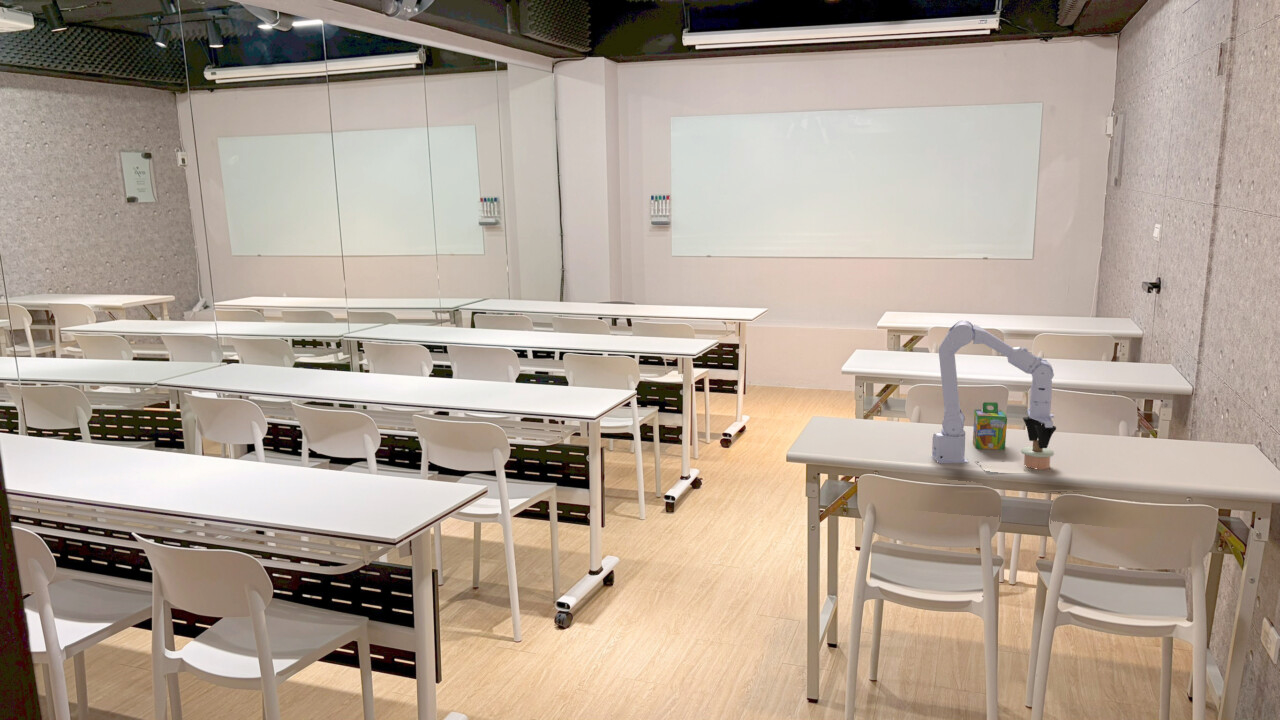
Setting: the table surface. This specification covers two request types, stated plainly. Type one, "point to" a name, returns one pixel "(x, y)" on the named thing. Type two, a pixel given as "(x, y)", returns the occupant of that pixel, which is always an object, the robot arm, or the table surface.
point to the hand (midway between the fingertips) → (1038, 444)
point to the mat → (991, 472)
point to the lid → (1037, 451)
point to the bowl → (1037, 462)
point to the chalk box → (989, 427)
